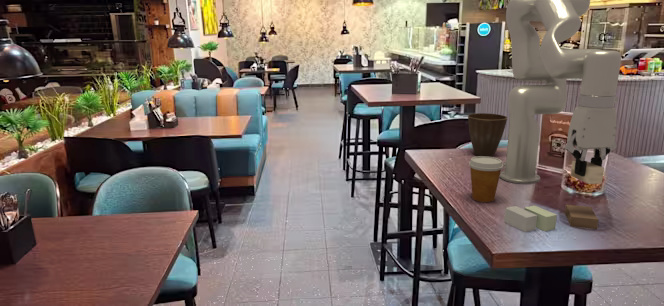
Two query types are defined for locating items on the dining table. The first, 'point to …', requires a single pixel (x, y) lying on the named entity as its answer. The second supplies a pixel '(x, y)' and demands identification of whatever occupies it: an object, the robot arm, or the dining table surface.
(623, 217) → the dining table surface
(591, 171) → the beech brick
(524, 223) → the grey brick
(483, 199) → the disposable coffee cup
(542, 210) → the sage brick
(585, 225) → the walnut base
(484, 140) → the plant pot
